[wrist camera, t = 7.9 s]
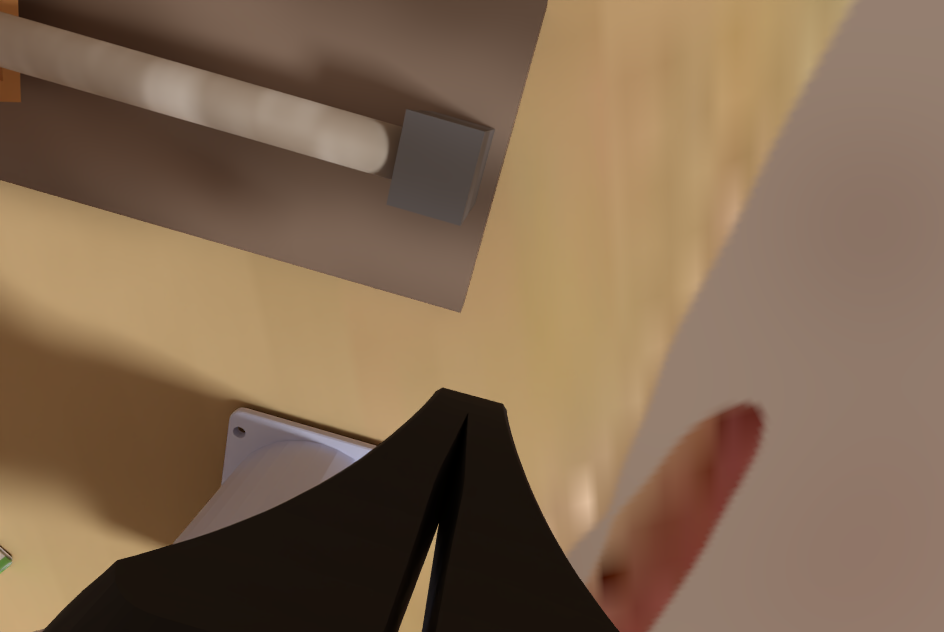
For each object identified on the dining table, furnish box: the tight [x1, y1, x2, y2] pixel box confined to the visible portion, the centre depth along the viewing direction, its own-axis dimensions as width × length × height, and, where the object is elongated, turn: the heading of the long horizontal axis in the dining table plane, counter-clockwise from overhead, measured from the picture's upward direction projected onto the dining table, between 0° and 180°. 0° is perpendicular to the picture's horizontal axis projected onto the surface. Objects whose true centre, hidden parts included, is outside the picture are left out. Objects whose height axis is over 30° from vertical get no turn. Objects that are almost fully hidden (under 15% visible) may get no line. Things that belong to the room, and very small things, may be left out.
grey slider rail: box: [0, 0, 548, 313], centre depth 16 cm, size 10×28×6 cm, turn 75°
